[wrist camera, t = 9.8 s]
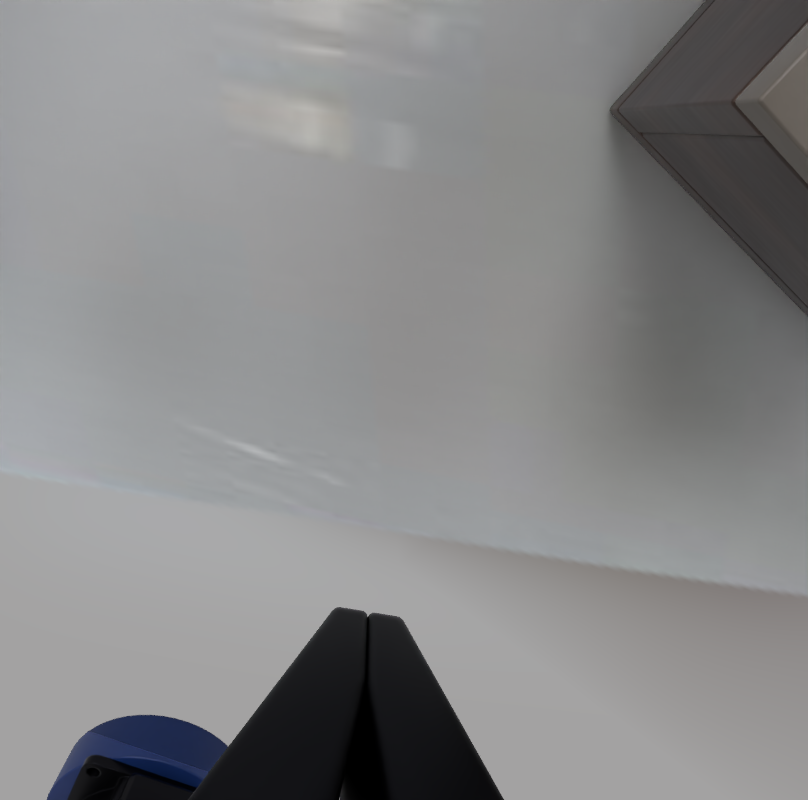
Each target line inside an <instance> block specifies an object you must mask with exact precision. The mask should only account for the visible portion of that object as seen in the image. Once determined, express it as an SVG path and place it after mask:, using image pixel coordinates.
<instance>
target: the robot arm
mask: <svg viewBox="0 0 808 800" xmlns="http://www.w3.org/2000/svg"><path fill="white" fill-rule="evenodd" d="M339 798H340V800H504V799H503V797H502V796H501V794H500V792H499V790H498V789H497V787H496V785H495V783H494V782H493V780H492V778H491V776H490V774H489V772H488V771H487V769H486V767H485V765H484V764H483V762H482V760H481V758H480V756H479V755H478V753H477V751H476V749H475V748H474V746H473V744H472V742H471V741H470V739H469V737H468V735H467V733H466V732H465V730H464V728H463V726H462V724H461V723H460V721H459V719H458V718H457V716H456V714H455V712H454V710H453V708H452V707H451V705H450V703H449V701H448V699H447V698H446V696H445V694H444V692H443V691H442V689H441V687H440V685H439V683H438V682H437V680H436V678H435V676H434V675H433V673H432V671H431V669H430V667H429V666H428V664H427V662H426V660H425V659H424V657H423V655H422V653H421V651H420V650H419V648H418V646H417V644H416V643H415V641H414V639H413V637H412V636H411V634H410V632H409V630H408V628H407V627H406V625H405V623H404V621H403V620H402V619H401V618H400V617H397V616H390V615H385V614H379V613H372V614H370V615H369V616H368V617H367V614H366V613H365V612H364V611H360V610H353V609H348V608H341V607H338V608H335V609H334V610H333V611H332V612H331V613H330V615H329V616H328V617H327V619H326V620H325V621H324V623H323V624H322V625H321V626H320V628H319V629H318V630H317V632H316V633H315V634H314V636H313V637H312V638H311V639H310V641H309V642H308V643H307V645H306V646H305V647H304V649H303V650H302V651H301V653H300V654H299V655H298V657H297V658H296V659H295V660H294V662H293V663H292V664H291V666H290V667H289V668H288V670H287V671H286V672H285V674H284V675H283V676H282V677H281V679H280V680H279V681H278V683H277V684H276V685H275V687H274V688H273V689H272V690H271V692H270V693H269V695H268V696H267V697H266V699H265V700H264V701H263V702H262V704H261V705H260V706H259V707H258V709H257V710H256V711H255V713H254V714H253V716H252V717H251V718H250V719H249V721H248V722H247V723H246V725H245V726H244V727H243V728H242V730H241V731H240V732H239V734H238V735H237V736H236V738H235V739H234V740H233V742H232V743H231V744H230V745H229V747H228V748H227V749H226V751H225V752H224V753H223V755H222V756H221V757H220V758H219V760H218V761H217V762H216V764H215V765H214V766H213V768H212V769H211V770H210V772H209V773H208V774H207V775H206V777H205V778H204V779H203V781H202V782H201V783H200V785H199V786H198V787H197V788H196V787H193V786H190V785H187V784H184V783H181V782H178V781H175V780H172V779H169V778H166V777H163V776H161V775H158V774H155V773H152V772H149V771H146V770H143V769H140V768H137V767H134V766H131V765H128V764H125V763H122V762H119V761H116V760H113V759H110V758H107V757H104V756H101V755H91V756H88V757H87V758H86V760H85V762H84V764H83V766H82V768H81V770H80V772H79V774H78V776H77V779H76V781H75V783H74V785H73V787H72V790H71V792H70V794H69V796H68V799H67V800H339Z"/></svg>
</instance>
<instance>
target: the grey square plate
mask: <svg viewBox="0 0 808 800" xmlns="http://www.w3.org/2000/svg"><path fill="white" fill-rule="evenodd" d="M735 103H736V105H737V106H738V107H739V109H740V110H741V111H742V112H743V113H744V114H745V115H746V116H747V117H748V119H749V120H750V121H751V122H752V123H753V124H754V125H755V126H756V127H757V128H758V130H759V131H760V132H761V133H762V134H763V135H764V136H765V137H766V138H767V140H768V141H769V142H770V143H771V144H772V145H773V146H774V147H775V148H776V150H777V151H778V152H779V153H780V154H781V155H782V156H783V157H784V158H785V159H786V161H787V162H788V163H789V164H790V165H791V166H792V167H793V168H794V169H795V171H796V172H797V173H798V174H799V175H800V176H801V177H802V178H803V179H804V180H805V182H806V183H807V184H808V24H807V25H806V26H805V27H804V28H803V29H802V30H801V32H800V33H799V34H798V35H797V36H796V37H795V38H794V39H793V40H792V41H791V42H790V43H789V44H788V45H787V46H786V47H785V48H784V49H783V51H782V52H781V53H780V54H779V55H778V56H777V57H776V58H775V59H774V60H773V61H772V62H771V63H770V64H769V65H768V66H767V67H766V68H765V70H764V71H763V72H762V73H761V74H760V75H759V76H758V77H757V78H756V79H755V80H754V81H753V82H752V83H751V84H750V85H749V86H748V87H747V88H746V90H745V91H744V92H743V93H742V94H741V95H740V96H739V97H738V98H737V99H736V101H735Z"/></svg>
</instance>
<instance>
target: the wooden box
mask: <svg viewBox="0 0 808 800" xmlns="http://www.w3.org/2000/svg"><path fill="white" fill-rule="evenodd" d="M807 24H808V0H706V1H705V2H704V3H703V4H702V5H701V7H700V8H699V9H698V10H697V11H696V12H695V13H694V14H693V16H692V17H691V18H690V19H689V20H688V21H687V22H686V23H685V25H684V26H683V27H682V28H681V29H680V30H679V31H678V32H677V34H676V35H675V36H674V37H673V38H672V39H671V40H670V41H669V43H668V44H667V45H666V46H665V47H664V48H663V49H662V50H661V52H660V53H659V54H658V55H657V56H656V57H655V58H654V59H653V61H652V62H651V63H650V64H649V65H648V66H647V67H646V68H645V70H644V71H643V72H642V73H641V74H640V75H639V76H638V77H637V79H636V80H635V81H634V82H633V83H632V84H631V85H630V86H629V88H628V89H627V90H626V91H625V92H624V93H623V94H622V95H621V97H620V98H619V99H618V100H617V101H616V102H615V103H614V104H613V106H612V107H611V108H610V113H611V114H612V115H613V116H614V117H615V118H616V119H617V120H618V121H619V122H620V123H621V124H622V125H623V126H624V127H625V128H626V130H627V131H628V132H629V133H630V134H631V135H632V136H633V137H634V138H635V139H636V140H637V141H638V142H639V143H640V144H641V145H642V146H643V147H644V148H645V149H646V150H647V151H648V152H649V153H650V154H651V155H652V156H653V157H654V158H655V159H656V160H657V161H658V162H659V163H660V164H661V166H662V167H663V168H664V169H665V170H666V171H667V172H668V173H669V174H670V175H671V176H672V177H673V178H674V179H675V180H676V181H677V182H678V183H679V184H680V185H681V186H682V187H683V188H684V189H685V190H686V191H687V192H688V193H689V194H690V195H691V196H692V197H693V198H694V199H695V200H696V202H697V203H698V204H699V205H700V206H701V207H702V208H703V209H704V210H705V211H706V212H707V213H708V214H709V215H710V216H711V217H712V218H713V219H714V220H715V221H716V222H717V223H718V224H719V225H720V226H721V227H722V228H723V229H724V230H725V231H726V232H727V233H728V234H729V235H730V236H731V238H732V239H733V240H734V241H735V242H736V243H737V244H738V245H739V246H740V247H741V248H742V249H743V250H744V251H745V252H746V253H747V254H748V255H749V256H750V257H751V258H752V259H753V260H754V261H755V262H756V263H757V264H758V265H759V266H760V267H761V268H762V269H763V270H764V271H765V272H766V273H767V275H768V276H769V277H770V278H771V279H772V280H773V281H774V282H775V283H776V284H777V285H778V286H779V287H780V288H781V289H782V290H783V291H784V292H785V293H786V294H787V295H788V296H789V297H790V298H791V299H792V300H793V301H794V302H795V303H796V304H797V305H798V306H799V307H800V308H801V309H802V311H803V312H804V313H805V314H806V315H807V316H808V184H807V183H806V182H805V180H804V179H803V178H802V177H801V176H800V175H799V174H798V173H797V172H796V171H795V169H794V168H793V167H792V166H791V165H790V164H789V163H788V162H787V161H786V159H785V158H784V157H783V156H782V155H781V154H780V153H779V152H778V151H777V150H776V148H775V147H774V146H773V145H772V144H771V143H770V142H769V141H768V140H767V138H766V137H765V136H764V135H763V134H762V133H761V132H760V131H759V130H758V128H757V127H756V126H755V125H754V124H753V123H752V122H751V121H750V120H749V119H748V117H747V116H746V115H745V114H744V113H743V112H742V111H741V110H740V109H739V107H738V106H737V105H736V103H735V101H736V99H737V98H738V97H739V96H740V95H741V94H742V93H743V92H744V91H745V90H746V88H747V87H748V86H749V85H750V84H751V83H752V82H753V81H754V80H755V79H756V78H757V77H758V76H759V75H760V74H761V73H762V72H763V71H764V70H765V68H766V67H767V66H768V65H769V64H770V63H771V62H772V61H773V60H774V59H775V58H776V57H777V56H778V55H779V54H780V53H781V52H782V51H783V49H784V48H785V47H786V46H787V45H788V44H789V43H790V42H791V41H792V40H793V39H794V38H795V37H796V36H797V35H798V34H799V33H800V32H801V30H802V29H803V28H804V27H805V26H806V25H807Z"/></svg>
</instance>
